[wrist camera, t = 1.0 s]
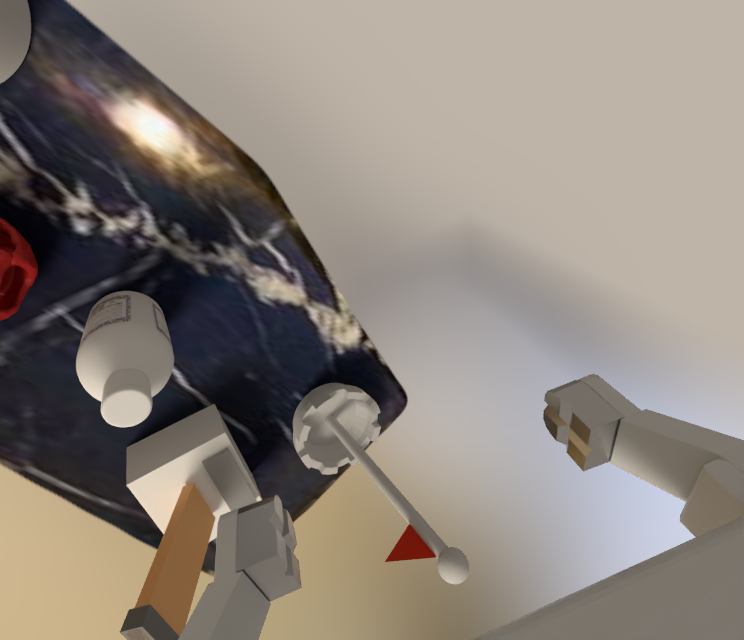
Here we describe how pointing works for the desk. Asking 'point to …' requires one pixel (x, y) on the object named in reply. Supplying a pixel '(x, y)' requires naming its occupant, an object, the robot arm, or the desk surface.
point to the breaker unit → (190, 468)
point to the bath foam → (125, 356)
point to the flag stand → (365, 465)
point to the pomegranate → (14, 269)
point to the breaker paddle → (173, 572)
